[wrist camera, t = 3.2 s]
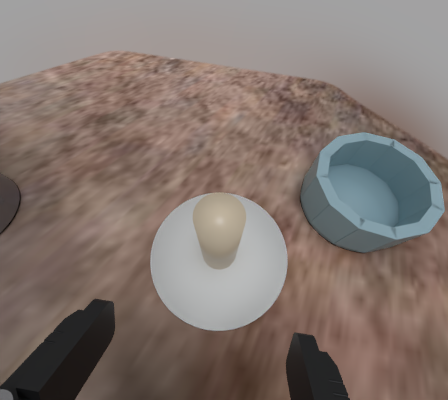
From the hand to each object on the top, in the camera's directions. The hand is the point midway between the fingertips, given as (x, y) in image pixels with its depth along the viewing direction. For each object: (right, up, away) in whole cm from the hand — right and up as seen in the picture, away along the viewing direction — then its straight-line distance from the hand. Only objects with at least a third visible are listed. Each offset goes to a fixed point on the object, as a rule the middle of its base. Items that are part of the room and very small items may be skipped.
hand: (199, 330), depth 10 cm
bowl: (+15, +5, +15) cm, 22 cm away
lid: (+1, 0, +12) cm, 12 cm away
